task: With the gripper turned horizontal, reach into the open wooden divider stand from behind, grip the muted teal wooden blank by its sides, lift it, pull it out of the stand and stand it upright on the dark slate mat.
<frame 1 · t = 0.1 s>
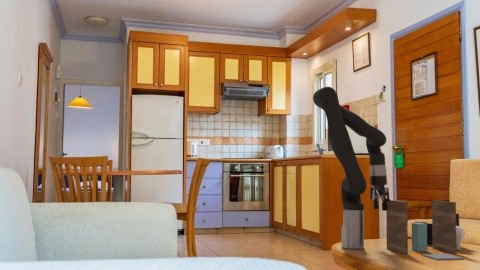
hand: (380, 209, 234), 17 cm above the table, tool pointing down, fingers open, 8 cm apart
lightbulb: (457, 251, 228), on the table
wooden divider stand: (420, 250, 225), on the table
slate mat: (442, 257, 207), on the table
supplement box: (449, 246, 242), on the table
pen holder: (424, 243, 252), on the table
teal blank: (419, 250, 226), on the table
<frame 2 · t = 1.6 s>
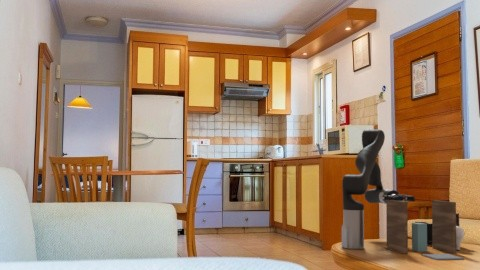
hand: (405, 199, 239), 22 cm above the table, tool horizontal, fingers open, 8 cm apart
nothing on the table moved.
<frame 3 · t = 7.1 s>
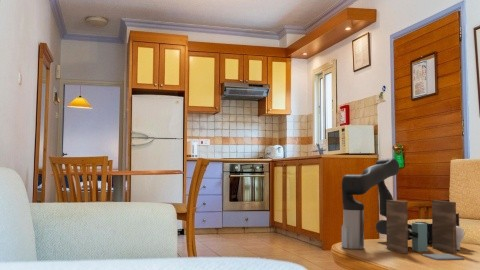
hand: (422, 235, 224), 7 cm above the table, tool horizontal, fingers closed on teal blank, 4 cm apart
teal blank: (419, 250, 226), on the table, touching gripper
everything else where it was.
when the fingers open (8 cm above the table, at t = 15.2 s): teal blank stays where it is, resting on slate mat.
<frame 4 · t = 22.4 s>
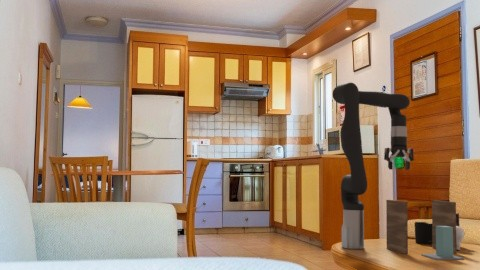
hand: (399, 169, 244), 36 cm above the table, tool pointing down, fingers open, 8 cm apart
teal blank: (444, 256, 207), point 1 cm above the table, touching slate mat
everything else where it was.
at the end: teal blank inside the target area (0.0 cm from its centre), point 0.6 cm above the table; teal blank tilted 0°; the gripper is holding nothing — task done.
